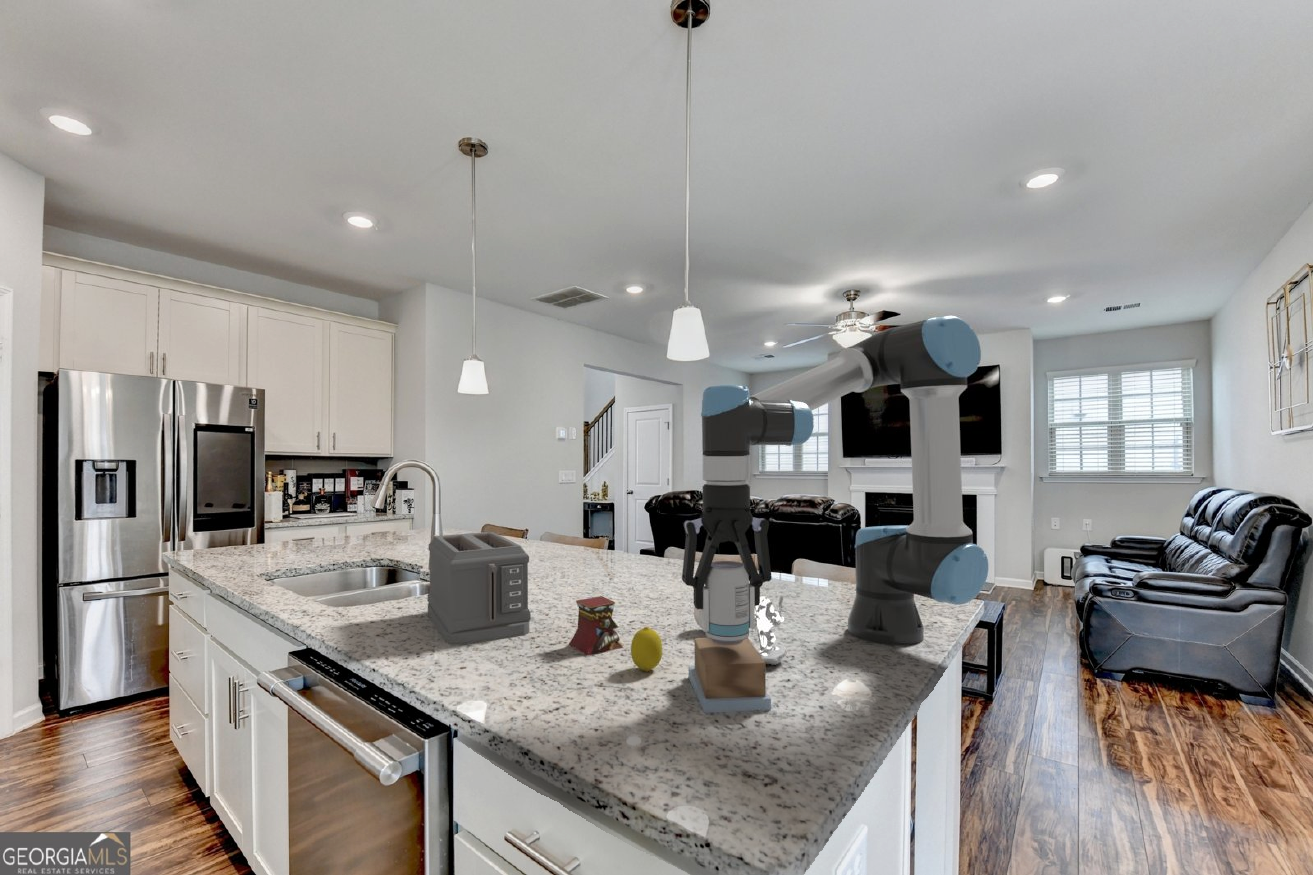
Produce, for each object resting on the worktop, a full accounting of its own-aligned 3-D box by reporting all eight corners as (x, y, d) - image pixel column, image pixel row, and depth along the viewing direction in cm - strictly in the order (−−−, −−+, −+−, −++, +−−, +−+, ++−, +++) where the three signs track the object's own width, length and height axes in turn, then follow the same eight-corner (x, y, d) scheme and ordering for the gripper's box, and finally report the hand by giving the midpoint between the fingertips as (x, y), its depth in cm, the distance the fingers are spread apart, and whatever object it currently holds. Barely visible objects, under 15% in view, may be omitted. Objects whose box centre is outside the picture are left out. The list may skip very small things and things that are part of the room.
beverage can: (714, 631, 98) (713, 558, 98) (754, 636, 95) (753, 562, 95) (698, 643, 92) (698, 566, 92) (741, 650, 89) (740, 570, 89)
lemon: (647, 664, 107) (646, 620, 107) (668, 672, 103) (668, 626, 103) (624, 672, 103) (624, 626, 103) (646, 681, 99) (645, 634, 99)
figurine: (772, 674, 101) (771, 605, 102) (739, 667, 105) (738, 600, 105) (792, 658, 109) (792, 593, 109) (761, 651, 113) (760, 589, 113)
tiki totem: (588, 658, 110) (587, 609, 110) (567, 646, 117) (566, 600, 117) (626, 649, 115) (626, 602, 115) (604, 637, 122) (604, 593, 122)
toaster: (450, 652, 114) (450, 556, 114) (425, 613, 140) (425, 535, 141) (535, 637, 122) (535, 548, 122) (497, 603, 149) (496, 529, 149)
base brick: (746, 681, 101) (745, 663, 101) (771, 719, 87) (770, 698, 87) (688, 684, 99) (688, 666, 100) (704, 723, 86) (704, 702, 86)
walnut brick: (747, 666, 99) (747, 636, 99) (765, 696, 87) (765, 662, 87) (694, 668, 99) (694, 638, 99) (705, 698, 87) (705, 664, 87)
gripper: (775, 480, 99) (776, 616, 99) (660, 482, 95) (661, 624, 95) (793, 483, 92) (795, 630, 91) (670, 485, 88) (671, 639, 88)
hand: (727, 627), depth 93 cm, fingers closed on beverage can, 7 cm apart
